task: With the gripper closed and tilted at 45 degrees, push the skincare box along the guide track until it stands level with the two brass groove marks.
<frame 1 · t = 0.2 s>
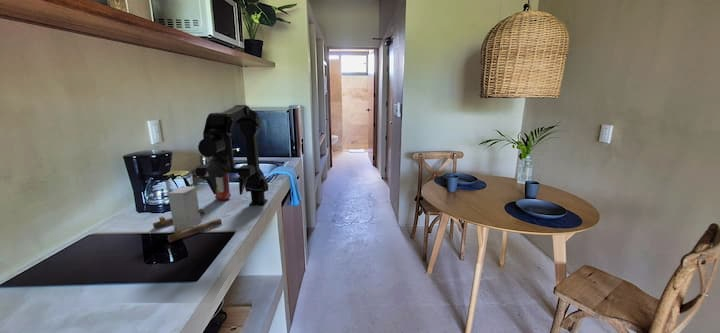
hand: (228, 194, 107), 15 cm above the countertop, tool pointing down, fingers open, 9 cm apart
liquor: (223, 199, 143), on the countertop
skincare box: (188, 226, 116), on the countertop
guide track: (188, 226, 116), on the countertop
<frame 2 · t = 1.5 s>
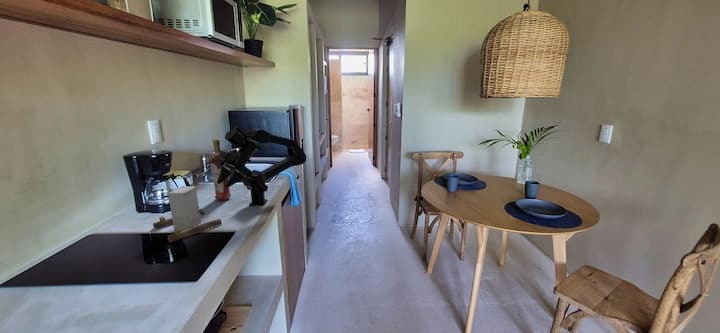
hand: (222, 185, 123), 13 cm above the countertop, tool tilted 45°, fingers open, 7 cm apart
nothing on the countertop moved.
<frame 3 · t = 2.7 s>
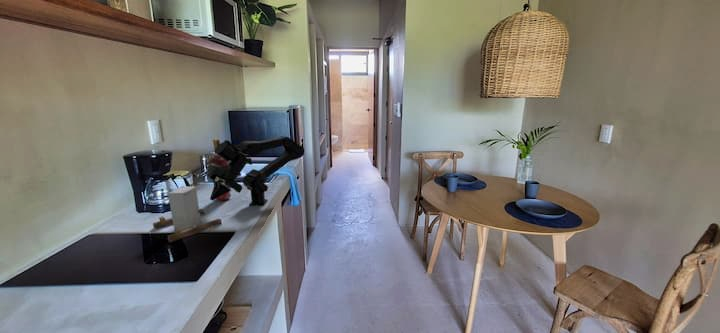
hand: (211, 199, 121), 8 cm above the countertop, tool tilted 45°, fingers closed
nothing on the countertop moved.
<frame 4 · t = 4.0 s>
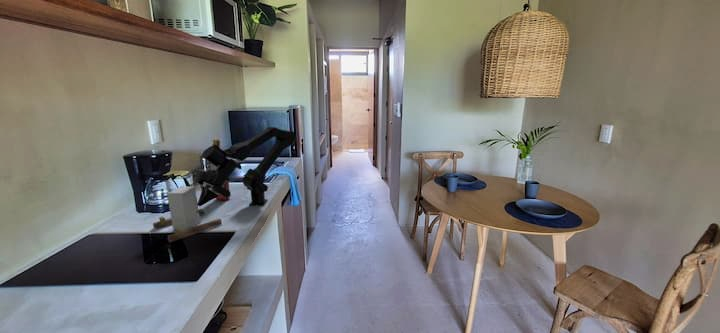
hand: (198, 205, 117), 7 cm above the countertop, tool tilted 45°, fingers closed, pressing on skincare box
skincare box: (187, 227, 116), on the countertop, touching gripper
everything else where it was.
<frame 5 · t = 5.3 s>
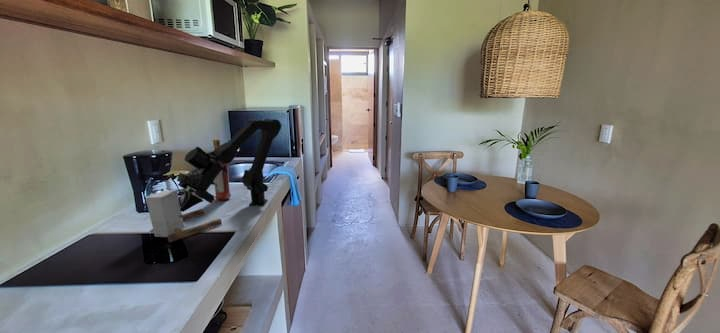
hand: (181, 210, 113), 7 cm above the countertop, tool tilted 45°, fingers closed, pressing on skincare box
skincare box: (170, 232, 111), on the countertop, touching gripper
everything else where it was.
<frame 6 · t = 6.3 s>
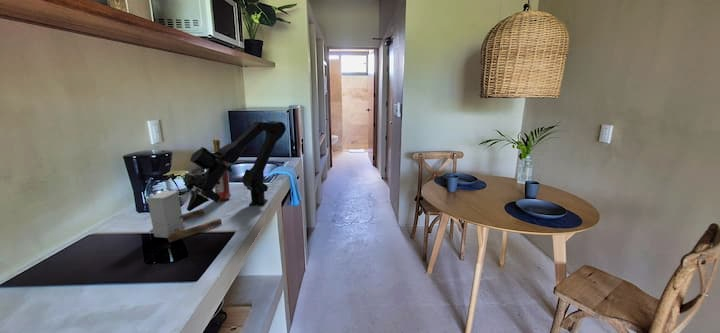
hand: (188, 210, 115), 6 cm above the countertop, tool tilted 45°, fingers closed
skincare box: (169, 232, 111), on the countertop
everything else where it was.
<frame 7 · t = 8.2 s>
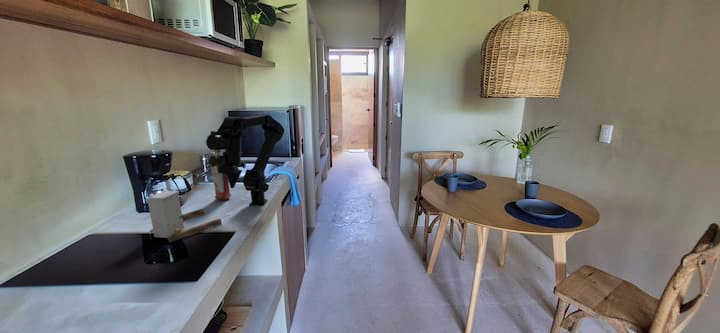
hand: (232, 188, 122), 12 cm above the countertop, tool pointing down, fingers closed
nothing on the countertop moved.
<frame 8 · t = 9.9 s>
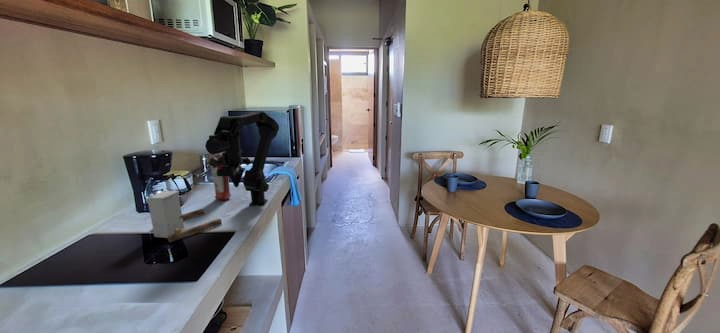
hand: (236, 186, 123), 12 cm above the countertop, tool pointing down, fingers closed
nothing on the countertop moved.
at the end: skincare box 0.3 cm from the target spot, on the countertop; skincare box tilted 0° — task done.
